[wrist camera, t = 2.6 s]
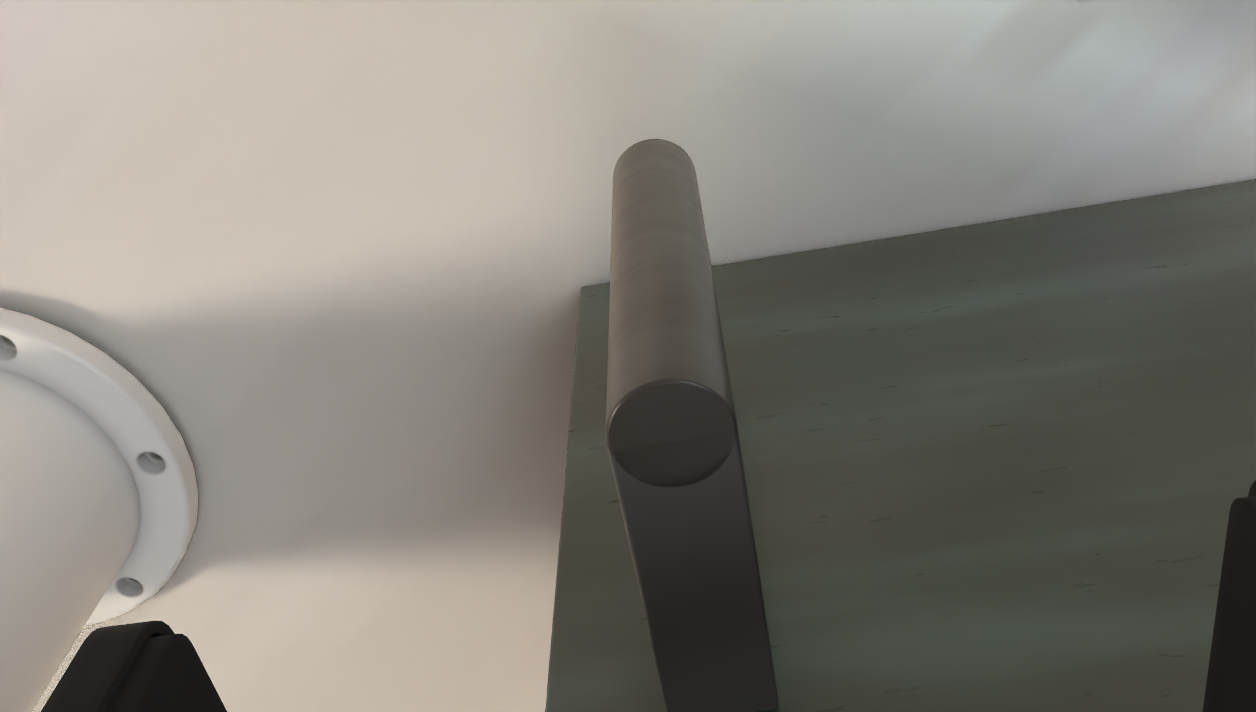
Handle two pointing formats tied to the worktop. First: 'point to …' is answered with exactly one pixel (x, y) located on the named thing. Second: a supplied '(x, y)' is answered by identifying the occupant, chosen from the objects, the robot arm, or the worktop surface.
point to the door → (905, 461)
